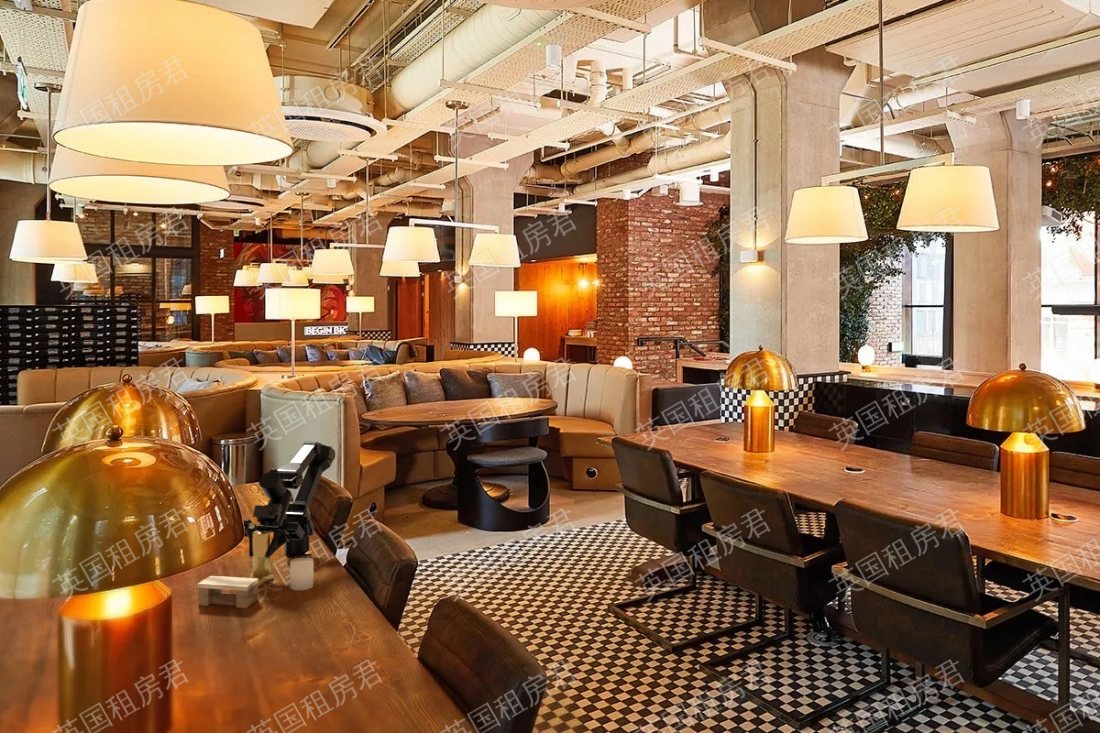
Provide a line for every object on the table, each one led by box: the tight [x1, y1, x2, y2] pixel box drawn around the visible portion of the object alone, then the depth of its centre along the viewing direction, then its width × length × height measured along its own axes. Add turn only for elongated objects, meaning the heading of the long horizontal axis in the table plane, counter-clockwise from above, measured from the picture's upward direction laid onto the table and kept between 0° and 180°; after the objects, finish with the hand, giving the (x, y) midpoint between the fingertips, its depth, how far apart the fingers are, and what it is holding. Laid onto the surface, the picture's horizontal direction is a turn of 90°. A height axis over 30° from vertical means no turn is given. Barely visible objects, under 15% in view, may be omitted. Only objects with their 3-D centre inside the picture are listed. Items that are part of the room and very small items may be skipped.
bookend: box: [248, 530, 274, 587], centre depth 206 cm, size 12×6×13 cm, turn 174°
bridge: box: [197, 575, 259, 609], centre depth 191 cm, size 6×13×6 cm, turn 84°
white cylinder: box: [289, 557, 314, 591], centre depth 204 cm, size 6×6×7 cm
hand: (258, 556), depth 207 cm, fingers closed on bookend, 4 cm apart
